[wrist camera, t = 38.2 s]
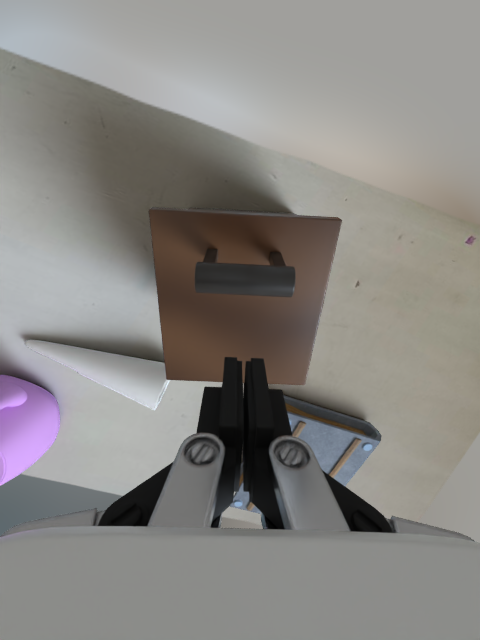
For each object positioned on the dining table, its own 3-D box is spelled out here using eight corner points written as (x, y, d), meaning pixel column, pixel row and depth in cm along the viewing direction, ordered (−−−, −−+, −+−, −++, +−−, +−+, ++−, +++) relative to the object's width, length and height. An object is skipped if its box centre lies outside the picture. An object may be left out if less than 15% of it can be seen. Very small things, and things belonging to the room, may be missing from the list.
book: (311, 503, 53) (318, 533, 48) (227, 482, 50) (226, 511, 46) (373, 422, 45) (388, 448, 40) (277, 391, 42) (282, 415, 38)
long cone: (44, 298, 38) (179, 356, 39) (41, 335, 41) (166, 388, 42) (7, 317, 33) (164, 383, 34) (7, 358, 36) (150, 417, 37)
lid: (151, 206, 18) (118, 228, 13) (338, 217, 18) (375, 241, 13) (168, 373, 24) (150, 428, 20) (303, 379, 25) (318, 434, 20)
